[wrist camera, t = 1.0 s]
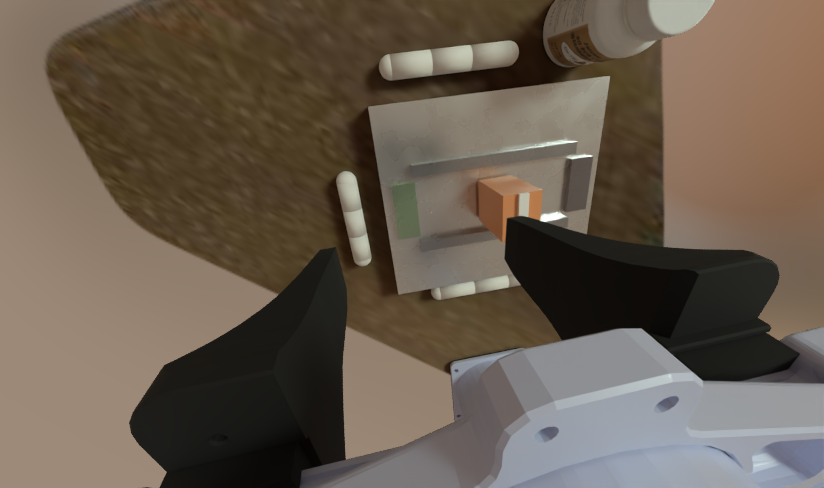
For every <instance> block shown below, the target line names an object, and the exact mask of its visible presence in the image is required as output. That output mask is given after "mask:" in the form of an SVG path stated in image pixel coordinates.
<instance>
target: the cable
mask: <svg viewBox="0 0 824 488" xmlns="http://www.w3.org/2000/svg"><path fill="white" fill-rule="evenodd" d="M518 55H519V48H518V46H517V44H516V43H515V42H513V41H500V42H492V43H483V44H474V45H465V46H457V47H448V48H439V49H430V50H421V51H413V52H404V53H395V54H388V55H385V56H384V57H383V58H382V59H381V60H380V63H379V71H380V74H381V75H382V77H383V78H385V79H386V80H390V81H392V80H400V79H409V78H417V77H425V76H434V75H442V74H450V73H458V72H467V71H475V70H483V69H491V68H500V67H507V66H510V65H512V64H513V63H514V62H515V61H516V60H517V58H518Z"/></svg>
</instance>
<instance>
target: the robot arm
mask: <svg viewBox="0 0 824 488" xmlns="http://www.w3.org/2000/svg"><path fill="white" fill-rule="evenodd" d="M504 259H505V261H506V263H507V265H508V267H509V268H510V270H511V272H512V273H513V275H514V277H515V278H516V279H517V281H518V282H519V283H520V284H521V286H522V287H523V288H524V289H525V291H526V292H527V293H528V294H529V296H530V297H531V298H532V299H533V301H534V302H535V303H536V304H537V305H538V307H539V308H540V309H541V310H542V312H543V313H544V314H545V315H546V317H547V318H548V319H549V321H550V322H551V324H552V325H553V327H554V328H555V330H556V331H557V333H558V335H559V336H560V338H561V339H562V341H558V342H553V343H549V344H544V345H540V346H535V347H530V348H526V349H524V348H518V349H513V350H508V351H503V352H498V353H493V354H488V355H483V356H478V357H473V358H469V359H464V360H459V361H454V362H452V363H451V364H450V372H451V384H452V396H453V408H454V420H455V422H454V423H451V424H449V425H447V426H445V427H443V428H441V429H438V430H436V431H434V432H432V433H430V434H427V435H425V436H423V437H421V438H419V439H417V440H415V441H413V442H410V443H408V444H406V445H404V446H401V447H397V448H393V449H388V450H384V451H380V452H376V453H372V454H368V455H364V456H360V457H355V458H351V459H347V460H346V458H345V440H344V439H345V437H344V413H343V371H342V370H343V369H342V365H343V351H344V340H345V330H346V319H347V290H346V285H345V281H344V277H343V273H342V269H341V266H340V262H339V258H338V254H337V250H336V247H334V248H329V249H323V250H320V251H319V252H318V253H317V254H316V255H315V256H314V258H313V259H312V260H311V261H310V262H309V264H308V265H307V266H306V267H305V268H304V269H303V271H302V272H301V273H300V274H299V275H298V276H297V277H296V278H295V279H294V280H293V281H292V282H291V283H290V284H289V285H288V286H287V287H286V288H285V289H284V290H283V291H282V292H281V293H280V294H279V295H278V296H277V297H276V298H275V299H273V300H272V301H271V302H270V303H269V304H267V305H266V306H265V307H264V308H262V309H261V310H260V311H258V312H257V313H256V314H254V315H253V316H251V317H250V318H248V319H247V320H246V321H244V322H243V323H241V324H240V325H238V326H237V327H235V328H233V329H232V330H230V331H229V332H227V333H225V334H224V335H222V336H220V337H219V338H217V339H215V340H214V341H212V342H210V343H208V344H206V345H204V346H202V347H200V348H198V349H197V350H194V351H193V352H190V353H188V354H186V355H185V356H182V357H181V358H178V359H177V360H174V361H172V362H170V363H168V364H166V365H164V367H163V368H162V369H161V371H160V372H159V374H158V375H157V377H156V378H155V380H154V381H153V383H152V385H151V386H150V388H149V389H148V390H147V392H146V393H145V395H144V397H143V398H142V400H141V401H140V403H139V404H138V406H137V407H136V409H135V410H134V412H133V414H132V416H131V420H130V422H129V424H130V429H131V433H132V435H133V437H134V438H135V440H136V441H137V442H138V444H139V445H140V446H141V447H142V448H143V449H144V450H145V451H146V452H147V453H148V454H149V455H150V456H151V457H152V458H153V459H154V460H155V461H156V462H157V463H158V464H159V465H160V466H161V467H162V468H163V469H164V470H165V471H167V473H166V475H165V477H164V480H163V481H162V484H161V486H160V488H824V327H819V328H815V329H811V330H806V331H802V332H798V333H794V334H791V335H788V336H786V337H784V338H783V339H782V340H780V341H779V340H777V339H775V338H774V337H772V336H770V335H769V334H767V333H766V332H769V331H770V329H771V327H770V325H769V324H767V323H765V322H764V321H762V320H760V319H759V318H758V316H759V315H760V313H761V312H762V310H763V308H764V307H765V305H766V304H767V302H768V300H769V299H770V297H771V295H772V294H773V292H774V290H775V288H776V286H777V284H778V280H779V271H778V267H777V265H776V264H775V263H774V262H773V261H772V260H769V259H767V258H765V257H762V256H760V255H757V254H755V253H753V252H749V251H745V250H702V249H683V248H668V247H657V246H649V245H641V244H633V243H627V242H621V241H615V240H610V239H605V238H600V237H596V236H592V235H588V234H584V233H580V232H576V231H573V230H569V229H566V228H563V227H560V226H556V225H553V224H550V223H547V222H543V221H540V220H537V219H533V218H529V217H525V216H516V217H510V218H507V223H506V239H505V256H504ZM455 369H456V370H455ZM145 488H149V487H145Z"/></svg>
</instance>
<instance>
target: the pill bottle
mask: <svg viewBox="0 0 824 488" xmlns="http://www.w3.org/2000/svg"><path fill="white" fill-rule="evenodd" d="M714 1H715V0H555V1H554V3H553V4H552V5H551V7H550V9H549V11H548V14H547V16H546V19H545V22H544V27H543V43H544V47H545V50H546V53H547V55H548V56H549V58H550V59H551V60H552V61H553V62H554V63H555V64H557V65H559V66H563V67H575V66H580V65H588V64H591V63H597V62H603V61H609V60H613V59H619V58H624V57H629V56H632V55H635V54H638V53H640V52H642V51H644V50H645V49H647V48H648V47H649V46H651V45H652V44H653V43H654V42H655V41H656V40H659V39H663V38H667V37H671V36H675V35H678V34H681V33H683V32H686V31H687V30H689V29H691V28H692V27H694V26H695V25H696V24H697V23H698V22H699V21H700V20H701V19H702V18H703V17H704V16H705V15H706V13H707V12H708V11H709V9H710V8H711V6H712V5H713V3H714Z"/></svg>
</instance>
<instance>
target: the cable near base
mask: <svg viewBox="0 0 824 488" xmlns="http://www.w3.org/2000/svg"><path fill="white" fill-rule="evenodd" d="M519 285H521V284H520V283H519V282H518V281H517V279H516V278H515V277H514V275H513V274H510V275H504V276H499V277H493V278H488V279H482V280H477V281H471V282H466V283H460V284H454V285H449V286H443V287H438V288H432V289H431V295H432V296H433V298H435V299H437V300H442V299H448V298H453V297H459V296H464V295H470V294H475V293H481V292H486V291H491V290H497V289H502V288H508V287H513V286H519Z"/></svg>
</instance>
